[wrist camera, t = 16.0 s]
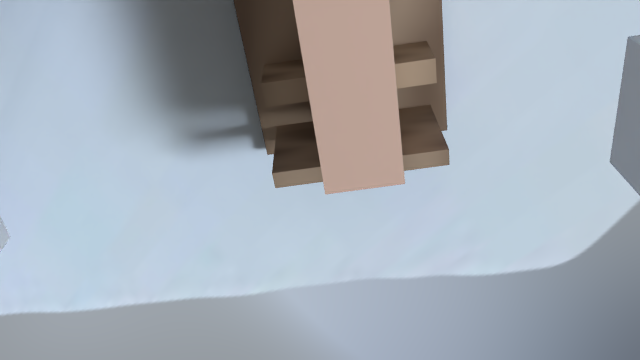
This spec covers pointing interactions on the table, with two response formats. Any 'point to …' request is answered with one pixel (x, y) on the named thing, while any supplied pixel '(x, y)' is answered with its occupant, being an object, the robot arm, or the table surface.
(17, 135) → the table surface
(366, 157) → the pinkish tan block
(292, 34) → the rack
